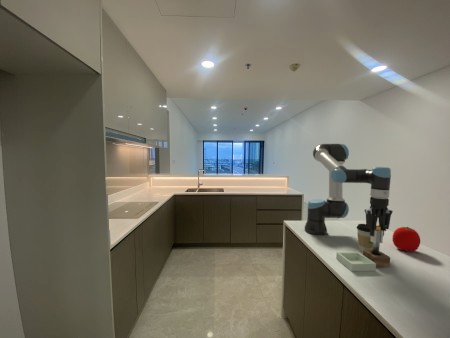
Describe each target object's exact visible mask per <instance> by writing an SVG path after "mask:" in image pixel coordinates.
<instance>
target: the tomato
mask: <svg viewBox="0 0 450 338" xmlns="http://www.w3.org/2000/svg"><path fill="white" fill-rule="evenodd" d="M392 243H393V245H394V246H395V248H396V249H399V250H401V251H405V252H410V253H411V252H416V251H418V249H419V247H420V246H421V237H420V234H419V233H418V232H417V230H416V229H414V228H411V227H409V226H400V227H398V228H396V229H395V230H394V232H393V233H392Z"/></svg>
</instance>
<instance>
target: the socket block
mask: <svg viewBox="0 0 450 338" xmlns="http://www.w3.org/2000/svg"><path fill="white" fill-rule="evenodd" d="M362 255H364V256H365V257H367V258H368V259H370V260H371V261H373V262H374V263H376V268H390V267H391V257H390V256H389V255H387V254H386V253H383V252H382V251H380V250H379V255H377V256H376V255H374V254H372V250H363V252H362Z"/></svg>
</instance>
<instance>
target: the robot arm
mask: <svg viewBox="0 0 450 338" xmlns="http://www.w3.org/2000/svg"><path fill="white" fill-rule="evenodd" d="M349 152H350V150H349V147H348V146H346V144H344V143H321V144H319V145H316V146H315V147H314V149H313V151H312V156H313V158H314V159H315V160H316V161H317V162H319V163H320V164H321V165H323V166H324V167H325V169H327V171H328V197H327V198H326V199H322V198H315V199H314V198H313V199H310V200H309V201H308V202H307V219H306V222H305V224H304V231H305V232H306V233H308V234H310V235H316V236H325V235H328V229H327V225H326V220H325V219H326V218H327V219H344V218H346V217H347V216H348V214H349V211H350V209H349V208H350V207H349V204H348V203H347V202H346V200H345V198H343V183H347V184H369V185H370V194H369V196H370V197H369V204H370V206H369V208H368V209H367V208H366V209H364V213H365V224H366V227H367V228H369V229H370V236H371V239H370V241H371V242H373V243H376V235H377V231H376V230H375V229H376V225H378V226H381V233H380V244H383V243H384V242H383V240H384V236H385V232H386V231H387V230H389V229H390V224H391V223H390V222H391V218H392V213H393V210H390V209H389V208H388V207H389V204H390V203H389V201H390V199H389V198H390V187H391V186H390V185H391V180H392V179H391V177H392V170H391V168H390V167H384V166H373V167H372V169H367V168H360V169H358V168H357V169H354V168H353V169H352V168H350V169H349V168H346V167H345V166H344V165H343V164H345V163H346V160H348V159H349V155H350V153H349ZM377 223H378V224H377Z"/></svg>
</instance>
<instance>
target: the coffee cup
mask: <svg viewBox="0 0 450 338" xmlns="http://www.w3.org/2000/svg"><path fill="white" fill-rule="evenodd" d="M356 229H357V243H358V244H357V245H358V252H360V253H363V250H372V249H373V242H371V241H370V239H371V236H370V229H369V228H367V227H366V223H358V224H357V226H356Z"/></svg>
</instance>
